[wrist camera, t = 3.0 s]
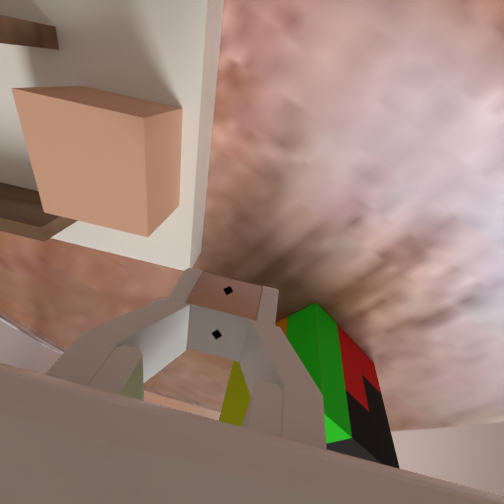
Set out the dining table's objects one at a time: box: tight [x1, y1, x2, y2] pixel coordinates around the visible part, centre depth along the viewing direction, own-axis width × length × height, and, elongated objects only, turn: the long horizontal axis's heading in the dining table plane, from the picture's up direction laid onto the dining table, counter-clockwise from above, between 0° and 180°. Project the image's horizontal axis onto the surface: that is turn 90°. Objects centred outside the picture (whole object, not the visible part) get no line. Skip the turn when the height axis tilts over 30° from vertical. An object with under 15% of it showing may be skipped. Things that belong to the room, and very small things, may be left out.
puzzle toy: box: [219, 302, 400, 469], centre depth 25 cm, size 10×10×10 cm
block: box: [11, 86, 183, 237], centre depth 15 cm, size 6×6×4 cm
